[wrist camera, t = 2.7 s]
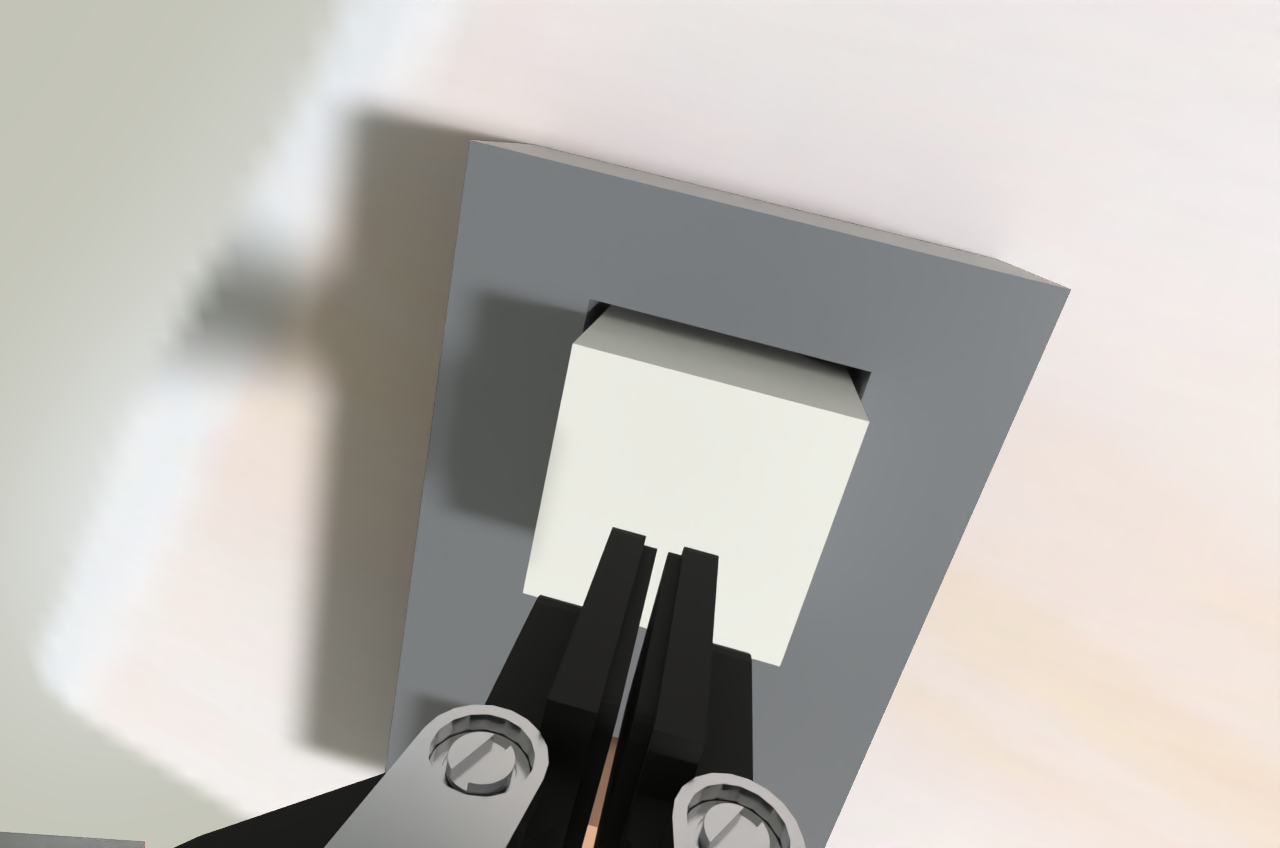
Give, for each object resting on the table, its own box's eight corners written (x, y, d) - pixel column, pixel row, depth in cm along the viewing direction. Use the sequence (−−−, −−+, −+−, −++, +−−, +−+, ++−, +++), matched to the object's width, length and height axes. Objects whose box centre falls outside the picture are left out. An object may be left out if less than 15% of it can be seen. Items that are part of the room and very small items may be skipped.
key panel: (533, 144, 19) (470, 139, 15) (998, 259, 18) (1071, 289, 14) (429, 778, 27) (368, 892, 23) (752, 876, 26) (751, 1013, 22)
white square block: (613, 303, 17) (572, 343, 13) (844, 363, 17) (869, 421, 13) (569, 507, 19) (522, 592, 15) (775, 565, 19) (779, 666, 15)
